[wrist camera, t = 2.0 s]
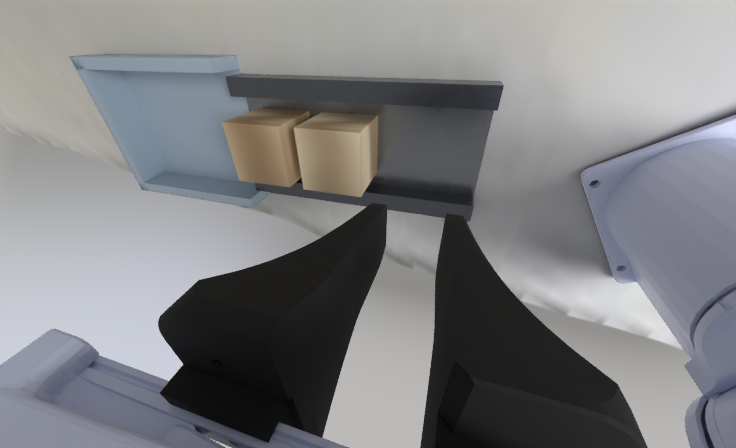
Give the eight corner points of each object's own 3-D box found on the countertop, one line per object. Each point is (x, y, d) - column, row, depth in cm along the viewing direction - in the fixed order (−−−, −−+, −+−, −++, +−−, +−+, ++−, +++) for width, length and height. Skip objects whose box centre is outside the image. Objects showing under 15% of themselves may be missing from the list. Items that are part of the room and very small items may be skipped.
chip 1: (308, 111, 19) (278, 126, 16) (315, 164, 21) (289, 187, 18) (259, 108, 20) (221, 122, 17) (271, 159, 22) (239, 180, 19)
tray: (240, 54, 19) (208, 58, 16) (272, 191, 25) (252, 207, 23) (112, 53, 22) (69, 56, 19) (169, 176, 28) (141, 189, 25)
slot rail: (499, 80, 15) (503, 85, 14) (469, 206, 20) (469, 221, 19) (244, 73, 19) (225, 76, 18) (269, 180, 24) (256, 190, 23)
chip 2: (377, 115, 18) (359, 132, 15) (377, 171, 20) (361, 197, 17) (322, 111, 19) (293, 127, 16) (327, 166, 21) (303, 189, 18)
